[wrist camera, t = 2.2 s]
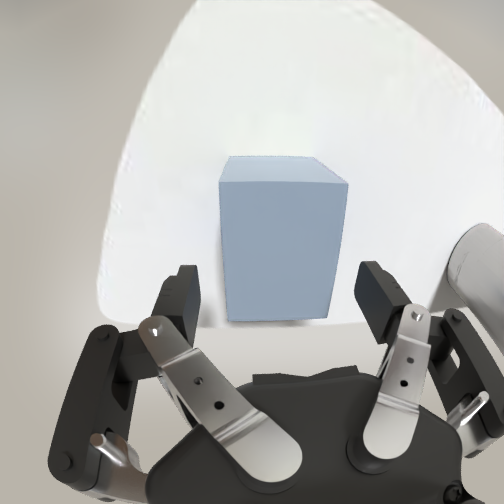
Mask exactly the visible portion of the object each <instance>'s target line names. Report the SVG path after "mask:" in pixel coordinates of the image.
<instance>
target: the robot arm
mask: <svg viewBox="0 0 504 504" xmlns="http://www.w3.org/2000/svg"><path fill="white" fill-rule="evenodd" d="M447 276H448V282H449V284H450V286H451V287H452V288H453V289H454V290H455V292H456V293H457V294H458V295H459V296H460V298H461V299H462V300H463V301H464V302H465V304H466V305H467V306H468V308H469V309H470V310H471V311H472V313H473V314H474V315H475V317H476V318H477V319H478V320H479V322H480V323H481V324H482V326H483V327H484V328H485V330H486V331H487V332H488V334H489V335H490V337H491V338H492V339H493V341H494V342H495V344H496V345H497V347H498V348H499V350H500V351H501V353H502V354H503V356H504V235H503V234H501V233H500V232H499V231H497V230H496V229H494V228H493V227H492V226H490V225H488V224H478V225H476V226H474V227H472V228H471V229H470V230H469V231H468V232H467V233H466V234H465V235H464V236H463V237H462V238H461V240H460V241H459V242H458V244H457V246H456V247H455V249H454V251H453V253H452V256H451V258H450V261H449V265H448V272H447ZM354 295H355V299H356V301H357V303H358V305H359V307H360V309H361V311H362V313H363V315H364V317H365V319H366V321H367V323H368V325H369V327H370V329H371V331H372V333H373V335H374V337H375V339H376V341H377V343H378V344H384V343H387V344H388V347H387V349H386V351H385V354H384V357H383V360H382V362H381V365H380V368H379V370H378V373H377V375H376V376H373V375H370V374H366V373H360V372H359V371H358V369H357V366H356V365H354V366H348V367H340V368H333V369H330V370H327V371H324V372H322V373H319V374H315V375H313V376H309V377H304V376H295V375H288V374H281V373H278V374H277V373H276V374H253V382H251V383H247V384H244V385H242V386H239V387H237V388H235V387H234V386H233V385H232V384H231V383H230V382H229V381H228V380H227V379H226V378H225V377H224V376H223V375H222V374H221V373H220V372H219V371H218V369H217V368H216V367H215V366H214V365H213V364H212V362H210V360H209V359H208V358H207V357H206V356H205V355H204V353H203V352H202V351H201V350H200V349H199V348H195V349H193V343H194V338H195V331H196V326H197V320H198V314H199V309H200V302H201V294H200V286H199V278H198V270H197V266H196V265H181V266H180V268H179V271H178V274H177V276H169V277H168V278H167V279H166V280H165V281H164V282H163V285H162V287H161V291H160V293H159V297H158V298H157V301H156V303H155V306H154V309H153V311H152V314H151V317H148V318H146V319H145V320H143V321H142V322H141V323H140V325H139V327H138V329H136V330H132V331H127V332H122V333H119V331H118V329H117V328H116V327H115V326H113V325H101V326H99V327H97V328H95V329H94V330H93V331H92V332H91V333H90V334H89V337H88V339H87V341H86V344H85V346H84V348H83V351H82V353H81V356H80V358H79V361H78V363H77V366H76V368H75V371H74V374H73V376H72V379H71V382H70V384H69V387H68V390H67V393H66V396H65V399H64V402H63V405H62V408H61V412H60V415H59V418H58V422H57V425H56V428H55V432H54V435H53V440H52V443H51V447H50V451H49V456H48V467H49V470H50V472H51V474H52V475H53V476H54V477H55V478H56V479H57V480H59V481H60V482H62V483H64V484H66V485H68V486H70V487H71V488H72V489H74V490H76V491H78V492H80V493H83V494H85V495H87V496H89V497H92V498H97V499H99V500H101V501H105V502H112V501H115V500H119V501H124V502H128V503H133V504H485V503H484V502H482V501H480V500H478V499H476V498H474V497H473V496H471V495H470V494H469V493H468V492H467V491H466V490H465V489H464V487H463V484H462V481H461V460H462V457H466V458H473V457H475V456H476V455H477V454H479V453H480V452H482V451H483V450H484V449H486V448H487V447H488V446H490V445H491V444H493V443H494V442H495V441H497V440H498V439H499V438H500V437H502V436H503V435H504V377H503V375H502V373H501V371H500V370H499V368H498V366H497V364H496V363H495V361H494V359H493V357H492V356H491V354H490V353H489V351H488V349H487V348H486V346H485V344H484V343H483V341H482V339H481V338H480V336H479V335H478V333H477V332H476V331H475V329H474V327H473V326H472V325H471V323H470V321H469V320H468V319H467V317H466V316H465V315H464V314H463V313H462V312H461V311H459V310H457V309H448V310H446V311H445V313H444V315H443V317H436V316H431V315H430V313H429V311H428V310H427V309H426V308H425V307H423V306H421V305H418V304H413V303H412V302H411V301H410V299H409V298H408V296H407V295H406V294H405V292H404V291H403V289H402V288H401V287H400V285H399V284H398V283H397V281H396V280H395V278H394V277H393V276H392V275H391V274H389V273H388V272H387V271H385V270H383V269H382V268H381V267H380V265H379V264H378V263H377V262H376V261H362V262H361V263H360V266H359V270H358V275H357V279H356V283H355V288H354ZM453 349H455V351H456V353H457V355H458V357H459V359H460V366H459V368H457V366H456V365H455V363H454V361H453V359H452V357H451V355H450V354H451V352H452V350H453ZM427 368H428V370H429V372H430V375H431V377H432V379H433V381H434V384H435V386H436V389H437V391H438V393H439V396H440V398H441V400H442V403H443V406H444V408H445V411H446V413H447V422H446V421H444V420H442V419H441V418H439V417H438V416H436V415H435V414H433V413H431V412H430V411H428V410H427V409H425V408H424V407H422V406H421V405H419V402H420V398H421V394H422V390H423V386H424V382H425V377H426V372H427ZM156 376H157V378H158V379H159V381H160V383H161V384H162V386H163V387H164V389H165V390H166V392H167V393H168V395H169V396H170V398H171V399H172V401H173V402H174V404H175V405H176V407H177V408H178V410H179V412H180V413H181V415H182V416H183V418H184V419H185V421H186V422H187V424H188V425H189V426H190V428H191V429H192V430H191V431H190V432H189V433H188V434H187V435H186V436H185V437H184V438H183V439H182V440H181V441H180V442H179V443H178V444H177V445H175V446H174V447H173V448H172V449H171V450H170V451H169V452H168V453H167V454H166V455H165V456H164V457H162V458H161V459H160V460H159V461H158V462H157V463H156V464H155V465H154V466H153V467H152V469H151V470H150V471H149V473H148V474H146V473H143V472H142V470H141V468H140V464H139V456H138V454H137V452H136V451H135V450H134V449H133V448H132V447H131V446H130V445H129V444H128V443H127V441H128V434H129V428H130V421H131V416H132V410H133V404H134V399H135V394H136V389H137V384H138V380H140V379H146V378H151V377H156Z"/></svg>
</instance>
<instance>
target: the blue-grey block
mask: <svg viewBox="0 0 504 504" xmlns="http://www.w3.org/2000/svg"><path fill="white" fill-rule="evenodd" d="M347 193H348V183H347V182H346V181H344V180H343V179H342V178H341V177H339V176H338V175H337V174H335V173H334V172H333V171H331V170H330V169H329V168H327V167H326V166H325V165H323V164H322V163H321V162H319V161H318V160H316V159H315V158H314V157H294V156H229V159H228V161H227V163H226V166H225V168H224V170H223V173H222V175H221V178H220V180H219V199H220V218H221V235H222V250H223V265H224V279H225V292H226V304H227V316H228V321H277V320H302V319H320V318H327V316H328V311H329V306H330V301H331V296H332V291H333V286H334V281H335V275H336V270H337V264H338V258H339V252H340V246H341V239H342V232H343V225H344V218H345V210H346V202H347Z"/></svg>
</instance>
